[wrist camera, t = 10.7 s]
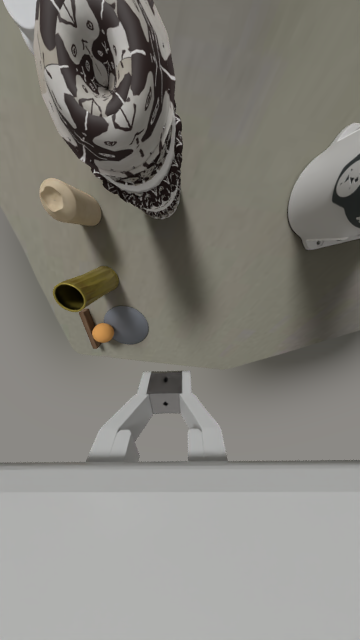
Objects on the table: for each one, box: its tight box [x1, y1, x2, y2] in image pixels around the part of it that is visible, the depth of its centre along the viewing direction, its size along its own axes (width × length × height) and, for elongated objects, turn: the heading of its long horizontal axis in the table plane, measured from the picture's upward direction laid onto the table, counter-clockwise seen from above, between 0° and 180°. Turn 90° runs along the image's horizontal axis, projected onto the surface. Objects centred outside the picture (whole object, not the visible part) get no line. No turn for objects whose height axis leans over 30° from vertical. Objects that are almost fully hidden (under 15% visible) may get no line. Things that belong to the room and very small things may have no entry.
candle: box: [40, 178, 101, 226], centre depth 27 cm, size 6×6×10 cm
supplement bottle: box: [3, 0, 37, 57], centre depth 19 cm, size 5×5×10 cm
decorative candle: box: [33, 0, 183, 219], centre depth 19 cm, size 9×9×25 cm
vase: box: [53, 266, 119, 312], centre depth 31 cm, size 6×6×14 cm
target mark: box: [104, 306, 148, 344], centre depth 44 cm, size 13×13×1 cm
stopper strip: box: [79, 309, 101, 349], centre depth 43 cm, size 1×12×2 cm, turn 2°
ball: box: [92, 323, 114, 343], centre depth 42 cm, size 6×6×6 cm
